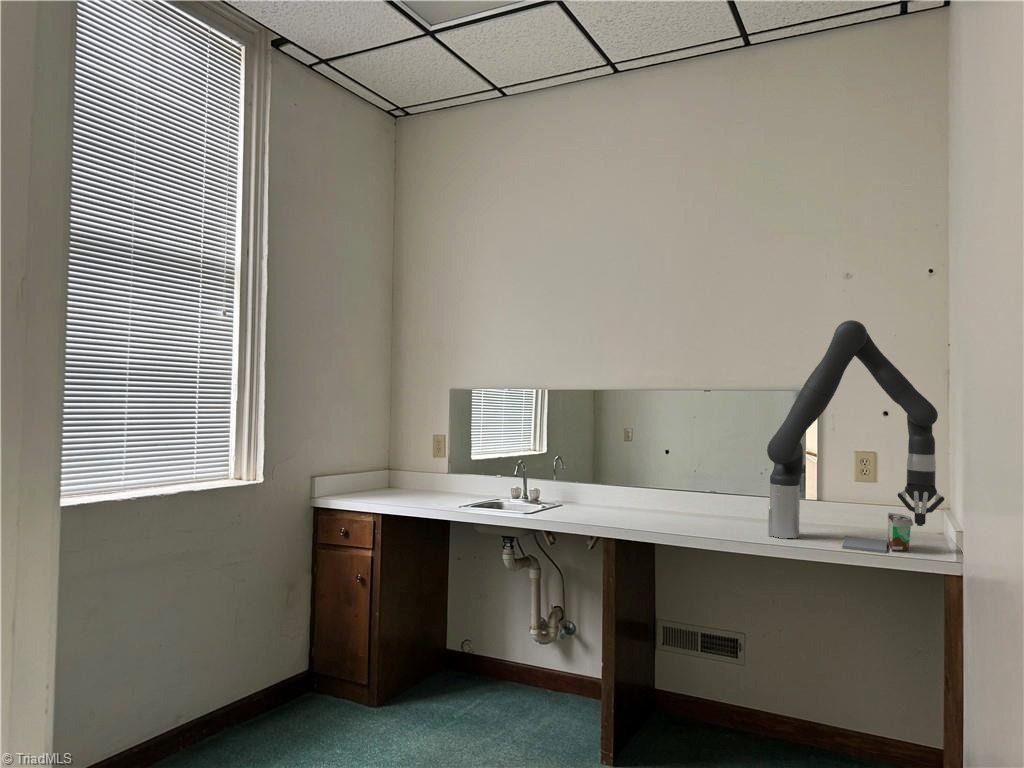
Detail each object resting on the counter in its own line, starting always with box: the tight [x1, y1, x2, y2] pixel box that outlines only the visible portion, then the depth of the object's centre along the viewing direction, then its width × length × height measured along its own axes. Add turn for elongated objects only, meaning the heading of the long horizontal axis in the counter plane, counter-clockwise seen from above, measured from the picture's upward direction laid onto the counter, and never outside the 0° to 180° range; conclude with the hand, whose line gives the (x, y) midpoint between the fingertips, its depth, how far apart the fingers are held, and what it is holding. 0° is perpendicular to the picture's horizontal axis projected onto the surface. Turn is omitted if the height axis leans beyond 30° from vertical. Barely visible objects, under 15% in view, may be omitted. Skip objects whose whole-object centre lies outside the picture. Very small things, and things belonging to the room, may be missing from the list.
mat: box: [841, 535, 888, 554], centre depth 222 cm, size 12×16×1 cm
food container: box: [887, 512, 914, 553], centre depth 217 cm, size 12×6×10 cm, turn 158°
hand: (920, 525), depth 215 cm, fingers closed
